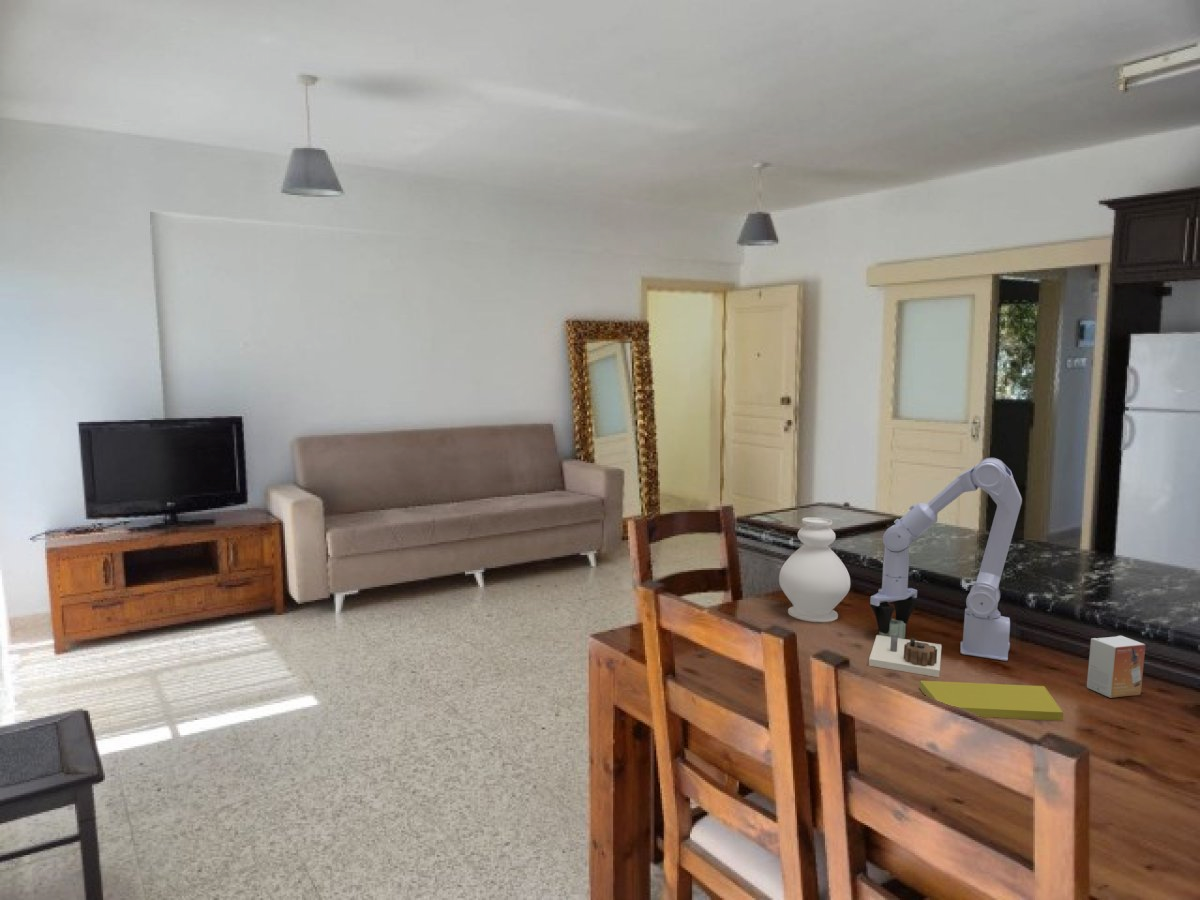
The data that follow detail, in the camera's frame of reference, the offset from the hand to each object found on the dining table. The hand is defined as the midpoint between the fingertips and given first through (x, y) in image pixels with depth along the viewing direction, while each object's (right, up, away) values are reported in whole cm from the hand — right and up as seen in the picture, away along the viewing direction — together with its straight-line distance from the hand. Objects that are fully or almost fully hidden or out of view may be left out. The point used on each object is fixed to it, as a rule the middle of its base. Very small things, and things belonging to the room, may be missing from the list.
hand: (892, 630), depth 187 cm
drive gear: (-1, -2, -20) cm, 20 cm away
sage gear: (0, -1, 0) cm, 1 cm away
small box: (+33, -5, -30) cm, 45 cm away
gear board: (-2, -3, -14) cm, 15 cm away
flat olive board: (+6, -6, -37) cm, 38 cm away
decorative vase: (-15, 0, +16) cm, 22 cm away
